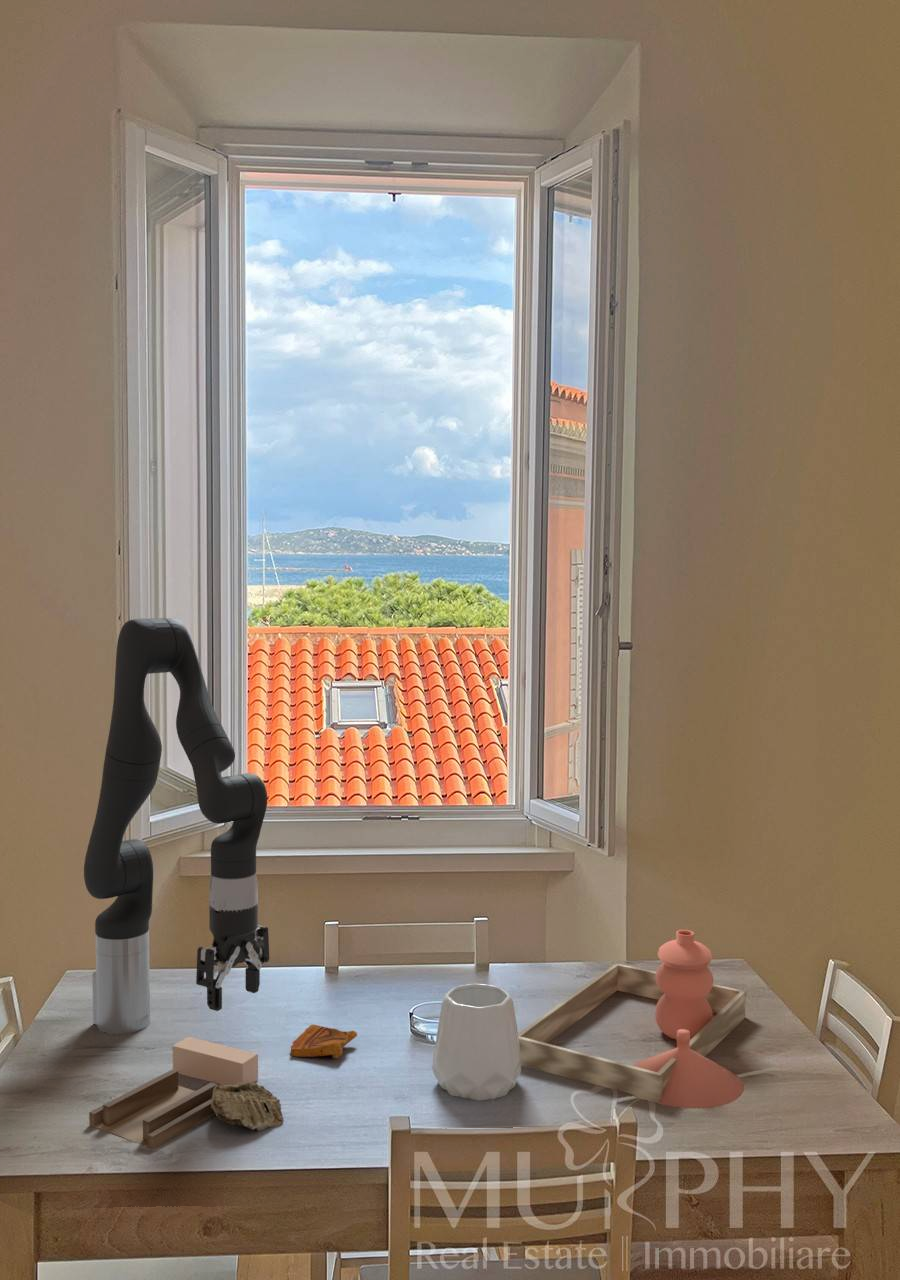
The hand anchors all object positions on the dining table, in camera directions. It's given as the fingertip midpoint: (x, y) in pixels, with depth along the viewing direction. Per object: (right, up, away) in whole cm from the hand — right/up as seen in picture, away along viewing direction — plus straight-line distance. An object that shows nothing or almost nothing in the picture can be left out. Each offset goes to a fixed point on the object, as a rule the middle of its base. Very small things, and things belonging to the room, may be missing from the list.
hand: (233, 1000), depth 190 cm
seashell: (+4, -14, -17) cm, 23 cm away
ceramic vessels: (+73, -14, +9) cm, 75 cm away
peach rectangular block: (-4, -14, +3) cm, 14 cm away
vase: (+39, -14, +1) cm, 41 cm away
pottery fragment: (+18, -12, +12) cm, 25 cm away
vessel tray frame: (+66, -13, +18) cm, 70 cm away
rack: (-9, -15, -11) cm, 20 cm away
